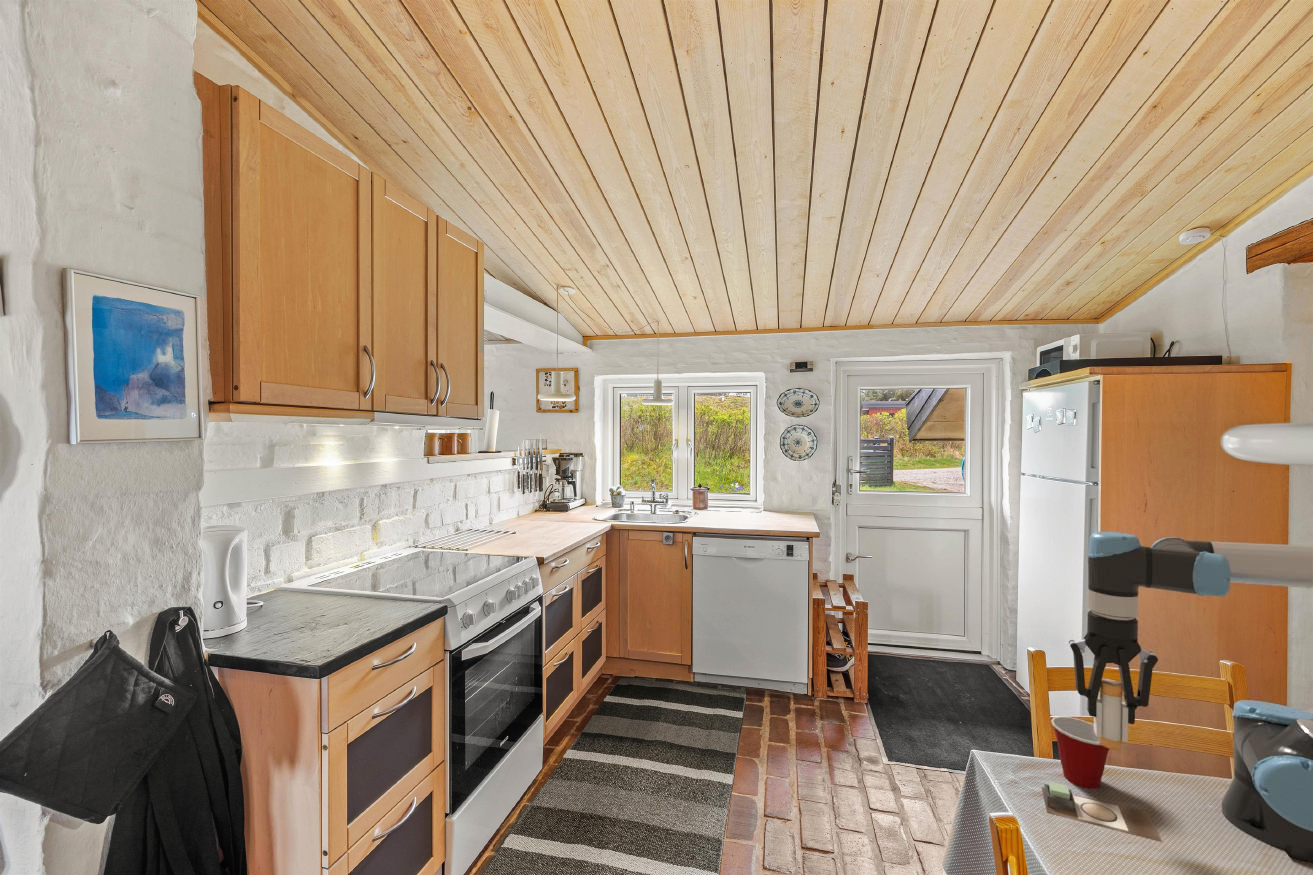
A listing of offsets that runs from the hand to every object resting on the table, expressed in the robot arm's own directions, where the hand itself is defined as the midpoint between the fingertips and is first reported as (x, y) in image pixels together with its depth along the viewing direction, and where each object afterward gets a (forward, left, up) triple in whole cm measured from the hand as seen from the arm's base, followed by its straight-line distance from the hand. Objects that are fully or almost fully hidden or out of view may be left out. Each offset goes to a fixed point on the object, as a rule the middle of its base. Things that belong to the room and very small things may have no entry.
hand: (1110, 735), depth 109 cm
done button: (+8, +1, -14) cm, 16 cm away
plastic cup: (+3, -11, -16) cm, 20 cm away
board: (+2, +1, -16) cm, 16 cm away
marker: (0, 0, -2) cm, 2 cm away
